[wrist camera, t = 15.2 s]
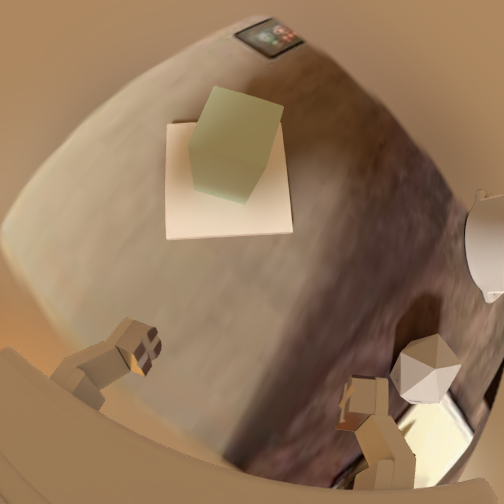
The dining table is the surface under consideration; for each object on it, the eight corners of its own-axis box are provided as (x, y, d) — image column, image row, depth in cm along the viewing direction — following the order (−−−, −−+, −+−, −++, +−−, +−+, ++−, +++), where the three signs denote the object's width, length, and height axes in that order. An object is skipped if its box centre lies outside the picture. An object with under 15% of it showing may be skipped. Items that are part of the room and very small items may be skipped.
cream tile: (278, 127, 29) (280, 122, 28) (289, 233, 28) (292, 231, 27) (168, 129, 27) (167, 124, 26) (168, 240, 26) (166, 238, 25)
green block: (258, 159, 27) (284, 106, 17) (244, 205, 26) (266, 167, 17) (210, 145, 26) (214, 85, 16) (194, 190, 26) (187, 145, 16)
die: (371, 348, 30) (396, 417, 21) (431, 307, 27) (469, 372, 19) (392, 368, 33) (414, 425, 25) (443, 334, 30) (472, 389, 22)
